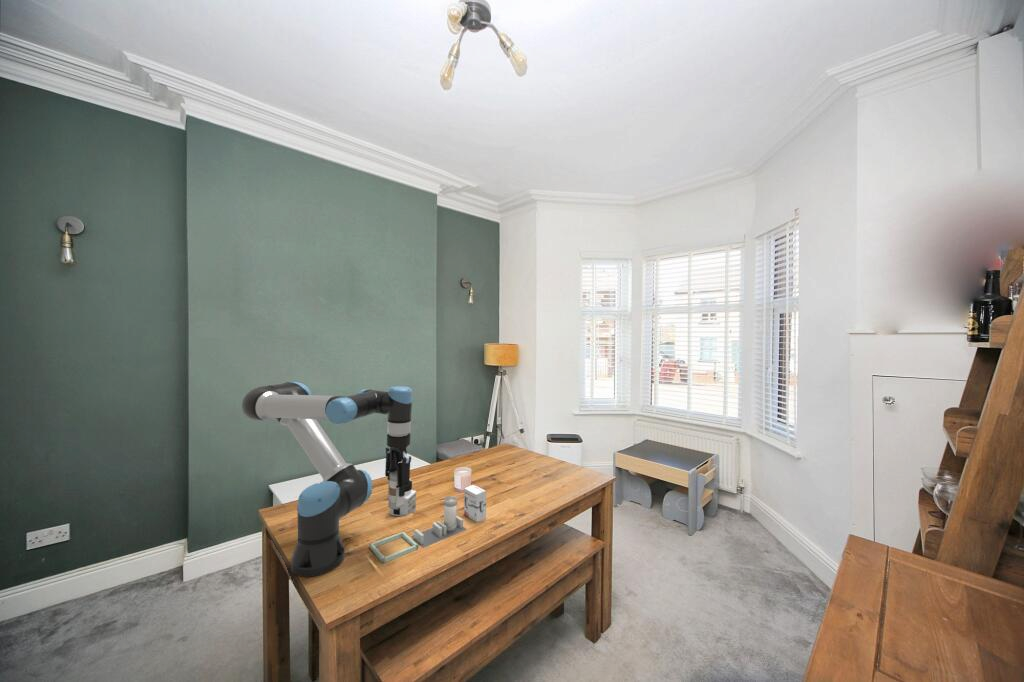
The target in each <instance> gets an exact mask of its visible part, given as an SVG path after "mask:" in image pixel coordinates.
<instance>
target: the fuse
mask: <svg viewBox="0 0 1024 682" xmlns="http://www.w3.org/2000/svg"><path fill="white" fill-rule="evenodd" d="M457 504H458V497H456V496H454V495H451V496H446V497H444V498H443V524H444V525H446V526H447V531H446V532H453V531H455V530H456V529H457V523H456V515H457V511H458V508H457V507H458V505H457ZM457 516H458V515H457Z"/></svg>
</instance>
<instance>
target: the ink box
mask: <svg viewBox="0 0 1024 682" xmlns="http://www.w3.org/2000/svg"><path fill="white" fill-rule="evenodd" d="M463 509H464V511H463V513H464V515H465V516H466V517H468V518H469V519H470V520H473V521H474V522H475V523H478V522H481V521H484V520H485V519H487V490H485V489H483V488H481V487H479V486H477V485H474V484H471V485H469V486H467V487H464V488H463Z"/></svg>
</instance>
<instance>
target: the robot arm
mask: <svg viewBox="0 0 1024 682" xmlns="http://www.w3.org/2000/svg"><path fill="white" fill-rule="evenodd" d="M412 407H413V389H412V388H410V387H408V386H403V385H402V386H400V385H399V386H397V385H396V386H391V387H390V388H389V389H388V391H385V390H377V389H376V390H375V389H371V388H370V389H367V388H366V389H361V390H359V392H357V393H356V394H352V395H317V394H316V395H312V391H311V390H310V388H308V386H307V385H305V384H304V383H301V382H297V381H293V382H292V381H286V382H283V383H276V384H271V385H270V384H269V385H262V386H258V387H255V388H253V389H250V390H249V391H248V392H247V393H246V394H245V396H244V397H243V398H242V401H241V410H242V412H243V414H244V415H245V416H246V417H247V418H248V419H251V420H252V421H253V420H254V421H272V420H274V419H276V420H277V421H278V423H279V425H281V426H287V427H288V429H289V430H290V433H291V434H292V435H293V436H294V438H295V439H296V440H297V442H298V444H299V445H300V446H301V448H302V450H303V451H304V452H305V454H306V456H307V457H308V458H309V461H310V462H311V463H312V465H313V466H314V468H315V469H316V471H317V472H318V473H319V476H320V477H321V478H322V481H321V482H318V483H317V482H316V483H313V484H311V485H309V486H308V487H306V488H305V489H303V490H302V491H301V492H300V494H299V496H298V501H297V508H296V511H297V542H296V546H295V548H294V551H293V554H292V557H291V560H290V571H291V573H292V574H294V576H299V577H305V578H306V577H315V576H319V575H323V574H326V573H328V572H330V571H332V570H335V568H337V567H339V566H340V565H341V564H342V563H343V561H344V559H345V557H346V556H345V554H346V552H345V546H344V543H343V540H342V538H341V535H340V519H342V518H343V517H345V516H347V515H348V514H350V513H351V512H352V511H354V510H356V509H357V508H360V507H361V506H363V504H364V503H365V502H367V501H368V500H369V499H370V498H371V495H372V493H373V487H374V485H373V480H372V477H371V475H370V473H368V472H367V471H366V470H363V469H357V468H356V466H354V464H353V463H349V462H346V461H345V459H344V458H343V456H342V454H341V453H340V452H339V451H338V449H337V447H335V445H334V443H333V442H332V440H331V439H330V438H329V436H328V435H327V434H326V433H327V432H325V430H324V429H323V427H322V426H321V424H320V423H319V422H318V420H319V421H321V420H323V421H330V422H332V424H335V425H340V424H347V423H349V422H352V421H354V420H357V419H360V418H362V417H363V418H364V417H367V416H369V415H372V414H381V415H387V424H386V425H387V427H386V432H387V435H386V446H387V447H385V470H384V471H385V472H384V475H385V477H387V481H388V485H387V486H388V487H387V488H388V489H387V501H388V500H389V485H390V479H389V478H390V472H392V471H396V470H397V479H398V486H396V505H395V506H396V507H397V506H400V505H403V504H404V496H405V486H408V485H409V479H410V480H411V475H410V474H411V462H412V456H411V455H410V456H409V455H407V453H408V452H407V451H408V450H407V448H408V447H409V446H410V444H411V432H412V431H411V427H412V409H413V408H412Z"/></svg>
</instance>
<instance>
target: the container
mask: <svg viewBox="0 0 1024 682" xmlns="http://www.w3.org/2000/svg"><path fill="white" fill-rule="evenodd" d="M415 510H417V490H413V480H412V479H411V478H410V479H409V485H408V486H405V496H404V504H403V506H402V507H401V508H398V509H391V508H389V515H390V516H396V517H403V516H409V515H410V514H412V513H413V512H414V511H415Z"/></svg>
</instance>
